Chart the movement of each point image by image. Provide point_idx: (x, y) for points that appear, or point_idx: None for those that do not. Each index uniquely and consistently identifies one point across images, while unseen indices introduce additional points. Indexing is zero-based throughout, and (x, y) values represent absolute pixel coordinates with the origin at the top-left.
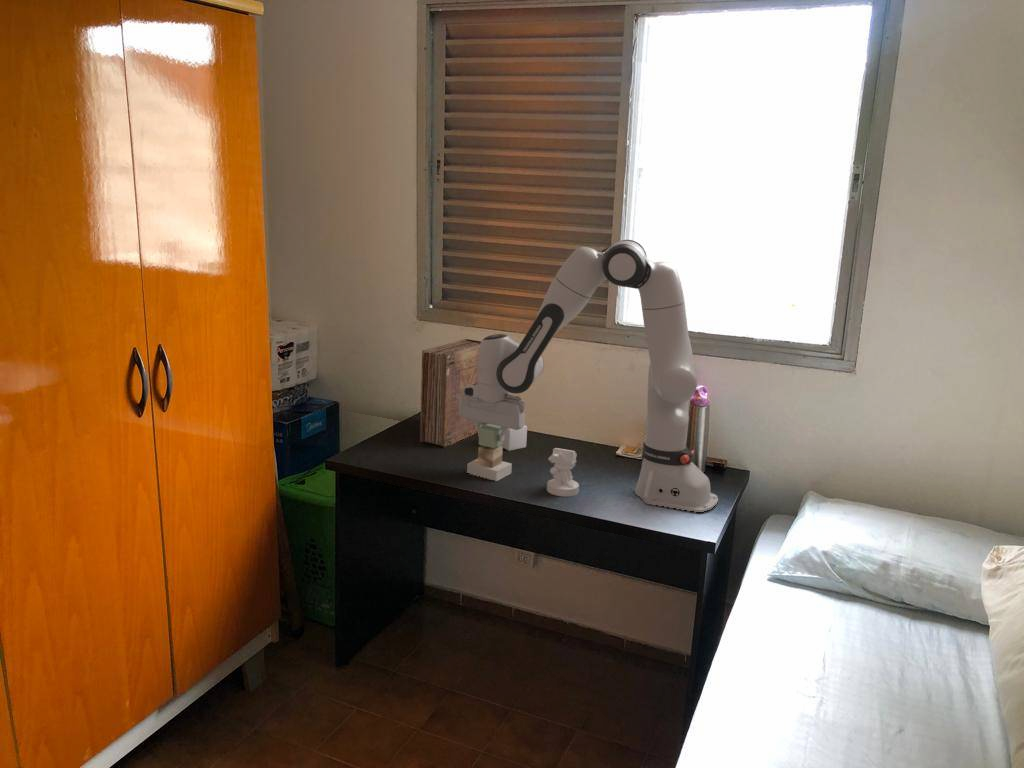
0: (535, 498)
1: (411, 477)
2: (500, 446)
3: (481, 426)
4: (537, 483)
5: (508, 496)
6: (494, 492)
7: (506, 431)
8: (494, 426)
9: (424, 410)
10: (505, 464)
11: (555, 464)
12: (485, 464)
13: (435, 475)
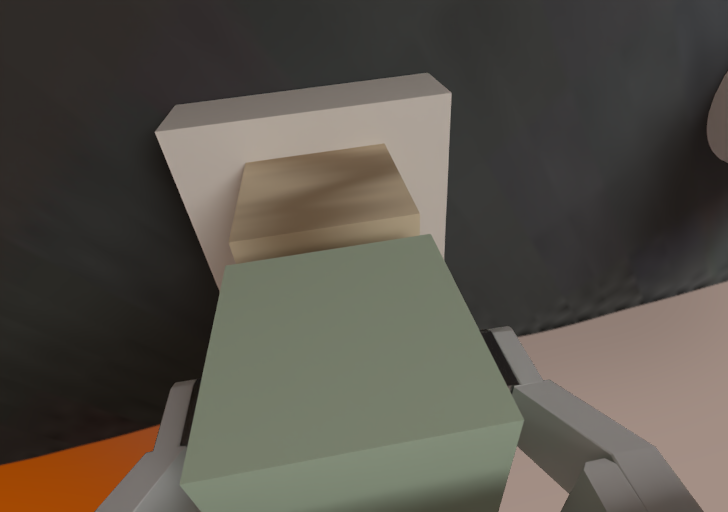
0: (664, 253)
1: (128, 431)
2: (399, 227)
3: (154, 505)
4: (641, 95)
5: (553, 309)
6: (486, 319)
7: (606, 429)
8: (381, 488)
9: None
10: (423, 148)
11: None
12: None
13: (162, 370)
